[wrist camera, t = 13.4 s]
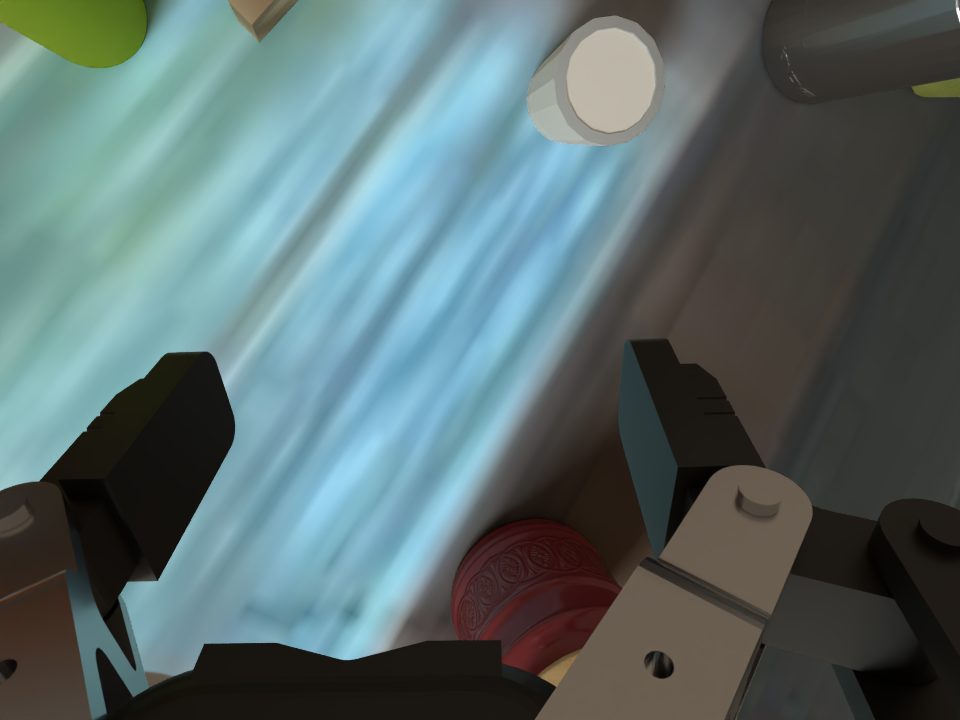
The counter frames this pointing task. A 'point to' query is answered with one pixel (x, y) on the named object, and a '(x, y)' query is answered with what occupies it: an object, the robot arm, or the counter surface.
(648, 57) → the shot glass
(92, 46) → the soap dispenser
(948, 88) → the plant pot
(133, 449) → the robot arm
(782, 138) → the counter surface
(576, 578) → the canister
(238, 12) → the shelf
